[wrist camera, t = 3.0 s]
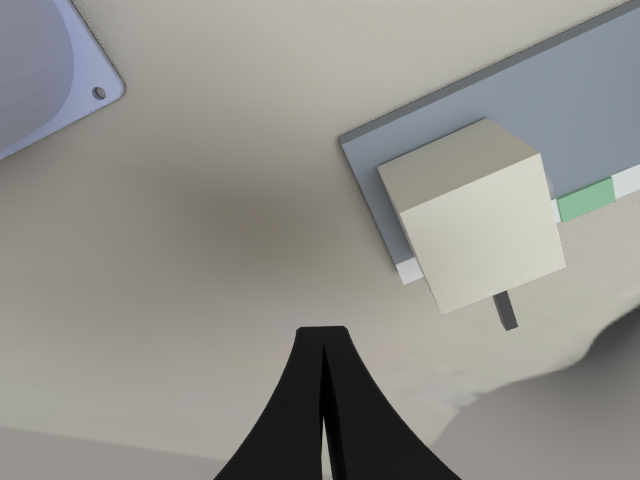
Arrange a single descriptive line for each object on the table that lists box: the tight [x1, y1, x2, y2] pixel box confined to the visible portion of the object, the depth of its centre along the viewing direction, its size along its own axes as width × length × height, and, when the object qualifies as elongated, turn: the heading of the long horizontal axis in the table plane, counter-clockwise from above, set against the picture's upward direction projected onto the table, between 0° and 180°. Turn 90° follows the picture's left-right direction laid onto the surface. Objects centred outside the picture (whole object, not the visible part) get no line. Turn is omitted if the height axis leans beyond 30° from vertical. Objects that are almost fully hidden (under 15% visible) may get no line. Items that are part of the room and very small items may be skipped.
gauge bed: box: [339, 0, 640, 285], centre depth 21 cm, size 17×8×2 cm, turn 115°
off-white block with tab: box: [377, 117, 566, 331], centre depth 20 cm, size 6×8×5 cm
